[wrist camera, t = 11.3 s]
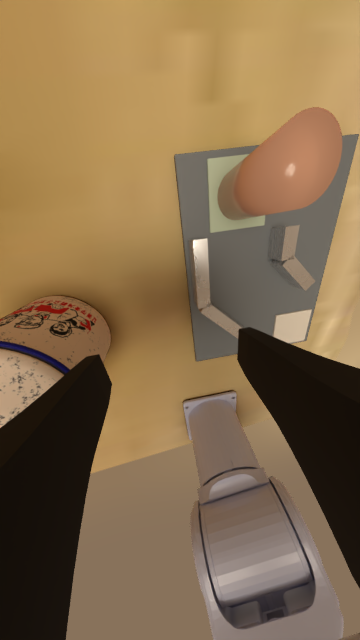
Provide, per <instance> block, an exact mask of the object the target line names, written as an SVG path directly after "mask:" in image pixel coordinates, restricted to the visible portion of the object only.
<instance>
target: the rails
mask: <svg viewBox="0 0 360 640" xmlns="http://www.w3.org/2000/svg"><path fill="white" fill-rule="evenodd" d="M299 226H300V225H292V226H281V227H274V228H271V234H270V244H269V253H268V258H269V259H272V260H271V261H270V262H269V263H270V264H271V265H272V266H273V267H274V268H275V269H276V270H277V271H278V272H279V273H280V274H281V275H282V276H283V278H284V279H285V280H286V281H287V282H288V283H289V284H290V285H291V286H294V287H296V288H299V289H302V290H304V291H306V290H307V289H308V288H309V287H310V286H311V285H312V284H313V283H314V282H315V280H314V279H313V277H312V276H311V275H310V274H309V273H308V272H307V270H306V269H305V268H304V267H303V266H302V264H301V263H300V262H299V261H298V260H297V259H296V257H295V256H294V255H295V250H296V244H297V238H298V232H299ZM188 243H189V254H190V265H191V275H192V286H193V297H194V302H195V304H196V306H197V308H198V309H199V311H200V313H202V314H203V315H205V316H206V317H208V318H209V319H210V320H212V321H213V322H215V323H216V324H218V325H219V326H220V327H222V328H223V329H225V330H226V331H227V332H229V333H230V334H232V335H233V336H235V337H236V338H237V339H238V331H239V329H241V328H245V327H243V326H242V325H241V324H239V323H238V322H237V321H236V320H234V319H233V318H232V317H230V316H229V315H228V314H226V313H225V312H224V311H222V310H221V309H220V308H218V307H217V306H216V305H214V304H213V303H212V302H210V283H209V262H208V241H207V238H197V239H190V240H188Z"/></svg>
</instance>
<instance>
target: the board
mask: <svg viewBox="0 0 360 640" xmlns="http://www.w3.org/2000/svg"><path fill="white" fill-rule="evenodd" d="M358 136H359V134H354V135H345V136H342V154H341V159H340V163H339V166H338V169H337V172H336V174H335V176H334V178H333V180H332V182H331V184H330V185H329V187H328V188H327V190H326V191H325V192H324V193H323V194H322V195H321V196H320V197H319V198H318V199H317V200H316V201H315V202H313V203H312V204H310V205H308V206H307V207H304V208H301V209H296V210H291V211H285V212H280V213H274V214H269V215H263V216H258V217H253V218H247V219H242V220H231V219H228V218H227V217H225V216H224V215H223V214H222V212H221V211H220V208H219V205H218V200H217V194H218V189H219V185H220V183H221V181H222V179H223V178H224V176H225V175H226V174H227V173H228V172H229V171H230V170H231V169H233V168H234V167H235V166H236V165H237V164H238V163H240V162H241V161H242V160H243V159H244V158H246V157H247V156H248V155H249V154H250V153H251V152H253V151H254V150H255V149H256V148H257V147H258V146H260V145H256V146H247V147H239V148H230V149H221V150H212V151H203V152H194V153H185V154H176V155H175V156H174V159H175V168H176V178H177V187H178V197H179V206H180V216H181V225H182V234H183V244H184V253H185V263H186V272H187V282H188V291H189V300H190V310H191V319H192V329H193V338H194V348H195V357H196V362H197V361H202V360H207V359H213V358H218V357H223V356H228V355H234V354H238V339H237V338H236V337H235V336H233V335H232V334H230V333H229V332H227V331H226V330H225V329H223V328H222V327H220V326H219V325H218V324H216V323H215V322H213V321H212V320H210V319H209V318H208V317H206V316H205V315H203V314H202V313H200V311H199V309H198V308H197V306H196V304H195V302H194V297H193V286H192V275H191V265H190V254H189V243H188V240H190V239H197V238H207V241H208V262H209V283H210V302H212V303H213V304H214V305H216V306H217V307H218V308H220V309H221V310H222V311H224V312H225V313H226V314H228V315H229V316H230V317H232V318H233V319H234V320H236V321H237V322H238V323H239V324H241V325H242V326H243V327H245V328H247V327H251V328H254V329H257V330H259V331H261V332H264V333H266V334H268V335H270V336H273V337H275V338H277V339H280V340H282V341H284V342H286V343H289V344H292V343H297V342H302V341H306V340H307V336H308V332H309V328H310V324H311V320H312V317H313V313H314V309H315V305H316V301H317V297H318V293H319V289H320V285H321V281H322V277H323V273H324V269H325V265H326V262H327V258H328V254H329V250H330V246H331V242H332V238H333V234H334V230H335V226H336V222H337V218H338V214H339V210H340V207H341V203H342V199H343V195H344V191H345V187H346V183H347V179H348V175H349V171H350V167H351V163H352V159H353V155H354V152H355V148H356V144H357V140H358ZM292 225H300V226H299V232H298V238H297V244H296V250H295V255H294V256H295V257H296V259H297V260H298V261H299V262H300V263H301V264H302V266H303V267H304V268H305V269H306V270H307V272H308V273H309V274H310V275H311V276H312V277H313V279H314V280H315V282H314V283H313V284H312V285H311V286H310V287H309V288H308V289H307V290H306V291H304V290H302V289H299V288H296V287H294V286H291V285H290V284H289V283H288V282H287V281H286V280H285V279H284V278H283V276H282V275H281V274H280V273H279V272H278V271H277V270H276V269H275V268H274V267H273V266H272V265H271V264H270V263H269V262H270V261H271V260H272V259H269V258H268V253H269V244H270V234H271V228H274V227H281V226H292Z"/></svg>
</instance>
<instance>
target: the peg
mask: <svg viewBox="0 0 360 640" xmlns="http://www.w3.org/2000/svg"><path fill="white" fill-rule="evenodd" d="M341 154H342V133H341V129H340V126H339V123H338V121H337V120H336V118H335V117H334V115H333V114H332V113H330V112H329V111H328V110H326V109H323V108H319V107H313V108H308V109H305V110H303V111H301V112H299V113H298V114H296V115H295V116H294V117H292V118H291V119H290V120H289V121H288V122H286V123H285V124H284V125H283V126H282V127H281V128H279V129H278V130H277V131H276V132H275V133H274V134H272V135H271V136H270V137H269V138H268V139H267V140H265V141H264V142H263V143H262V144H261V145H260V146H258V147H257V148H256V149H255V150H254V151H253V152H251V153H250V154H249V155H248V156H247V157H246V158H244V159H243V160H242V161H241V162H240V163H238V164H237V165H236V166H235V167H234V168H233V169H231V170H230V171H229V172H228V173H227V174H226V175H225V176H224V178H223V179H222V181H221V183H220V185H219V189H218V194H217V200H218V205H219V208H220V211H221V212H222V214H223V215H224V216H225V217H227V218H228V219H231V220H242V219H247V218H253V217H258V216H263V215H269V214H274V213H280V212H285V211H291V210H296V209H301V208H304V207H307V206H308V205H310V204H312V203H313V202H315V201H316V200H317V199H318V198H319V197H320V196H321V195H322V194H323V193H324V192H325V191H326V190H327V188H328V187H329V185H330V184H331V182H332V180H333V178H334V176H335V174H336V172H337V169H338V166H339V163H340V159H341Z"/></svg>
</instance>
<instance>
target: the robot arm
mask: <svg viewBox="0 0 360 640" xmlns="http://www.w3.org/2000/svg"><path fill="white" fill-rule="evenodd" d="M237 360H238V362H239V364H240V366H241V368H242V370H243V372H244V374H245V376H246V377H247V379H248V381H249V382H250V384H251V385H252V387H253V388H254V390H255V391H256V393H257V394H258V396H259V397H260V399H261V400H262V402H263V403H264V405H265V406H266V408H267V409H268V411H269V412H270V414H271V415H272V417H273V418H274V420H275V421H276V423H277V425H278V426H279V428H280V430H281V432H282V434H283V435H284V437H285V439H286V441H287V443H288V444H289V446H290V448H291V450H292V452H293V454H294V455H295V458H296V459H297V461H298V463H299V465H300V467H301V469H302V471H303V473H304V475H305V477H306V479H307V481H308V483H309V485H310V487H311V489H312V491H313V493H314V495H315V497H316V499H317V501H318V503H319V505H320V507H321V509H322V511H323V513H324V515H325V517H326V519H327V522H328V524H329V526H330V528H331V530H332V532H333V534H334V537H335V539H336V541H337V543H338V545H339V547H340V549H341V551H342V554H343V556H344V558H345V560H346V563H347V565H348V567H349V569H350V572H351V574H352V576H353V577H354V579H355V581H356V583H357V584H358V586H359V588H360V369H359V368H355V367H352V366H349V365H346V364H343V363H340V362H337V361H333V360H330V359H328V358H325V357H322V356H319V355H316V354H314V353H311V352H309V351H306V350H303V349H301V348H298V347H296V346H294V345H291V344H289V343H286V342H284V341H282V340H280V339H277V338H275V337H273V336H270V335H268V334H266V333H264V332H261V331H259V330H257V329H254V328H251V327H247V328H241V329H239V331H238V358H237ZM111 386H112V383H111V381H110V378H109V376H108V374H107V371H106V369H105V367H104V364H103V362H102V360H101V357H100V355H99V354H97V355H92V356H87V357H85V358H84V359H83V360H81V361H80V362H79V363H78V364H77V365H75V366H74V367H73V368H72V369H71V370H70V371H69V372H67V373H66V374H65V375H64V376H63V377H62V378H61V379H60V380H58V381H57V382H56V383H55V384H54V385H53V386H52V387H50V388H49V389H48V390H47V391H46V392H45V393H43V394H42V395H41V396H40V397H39V398H37V399H36V400H35V401H34V402H32V403H31V404H30V405H29V406H28V407H26V408H25V409H24V410H23V411H22V412H20V413H19V414H18V415H17V416H15V417H14V418H13V419H11V420H10V421H9V422H7V423H6V424H5V425H4V426H2V427H1V428H0V640H66V631H67V623H68V615H69V607H70V599H71V591H72V583H73V574H74V568H75V561H76V554H77V547H78V541H79V534H80V528H81V522H82V516H83V510H84V504H85V498H86V493H87V488H88V483H89V477H90V472H91V467H92V463H93V459H94V455H95V451H96V448H97V444H98V441H99V437H100V434H101V430H102V427H103V423H104V420H105V416H106V412H107V409H108V405H109V400H110V394H111ZM236 397H237V394H236V392H234V391H232V392H227V393H222V394H217V395H212V396H207V397H202V398H197V399H192V400H187V401H184V402H183V407H184V413H185V418H186V424H187V430H188V435H189V440H192V442H193V447H194V453H195V458H196V464H197V469H198V475H199V480H200V486H201V488H198V496H199V500H198V501H195V503H194V506H193V509H192V512H191V522H190V523H191V539H192V547H193V554H194V560H195V566H196V571H197V575H198V580H199V583H200V587H201V590H202V594H203V596H204V599H205V603H206V607H207V612H208V616H209V621H210V626H211V631H212V636H213V639H214V640H360V633H358V634H354V635H351V636H348V637H345V638H342V636H343V627H344V620H343V615H342V613H341V611H340V609H339V600H338V598H337V595H336V594H335V591H334V589H333V587H332V585H331V583H330V580H329V578H328V576H327V574H326V572H325V570H324V567H323V565H322V561H321V558H320V555H319V552H318V550H317V548H316V545H315V543H314V540H313V538H312V536H311V534H310V532H309V530H308V528H307V526H306V523H305V521H304V519H303V517H302V516H301V513H300V511H299V510H298V508H297V506H296V504H295V502H294V500H293V499H292V497H291V495H290V493H289V492H288V490H287V489H286V487H285V486H284V484H283V483H282V482H281V481H279V480H278V479H276V478H275V477H274V476H271V477H269V478H268V477H267V475H266V472H265V470H264V468H260V465H259V463H258V461H257V459H256V457H255V454H254V452H253V450H252V448H251V446H250V443H249V441H248V439H247V437H246V435H245V432H244V430H243V428H242V426H241V424H240V421H239V419H238V417H237V415H236Z"/></svg>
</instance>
